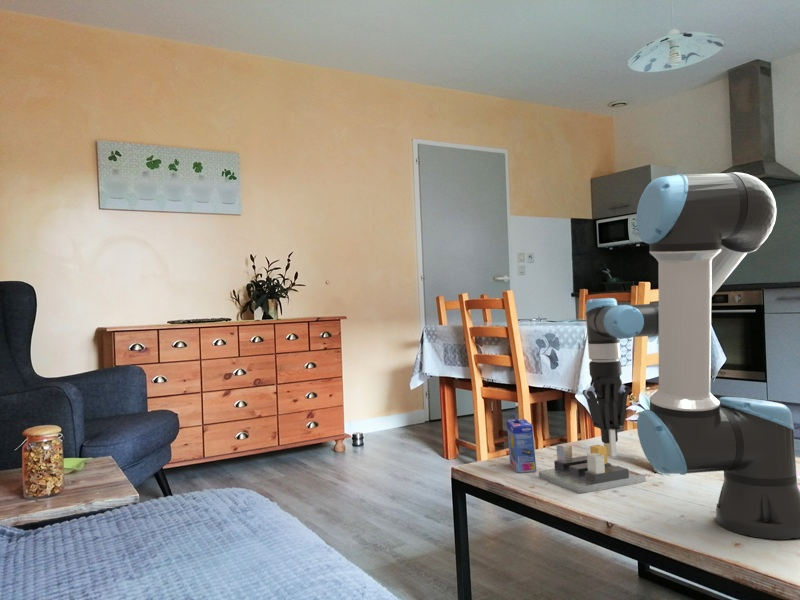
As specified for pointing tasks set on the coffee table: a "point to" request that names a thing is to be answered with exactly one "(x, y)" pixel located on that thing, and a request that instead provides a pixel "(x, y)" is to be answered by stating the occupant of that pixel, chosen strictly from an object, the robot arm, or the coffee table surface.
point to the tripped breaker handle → (599, 451)
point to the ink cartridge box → (521, 445)
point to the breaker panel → (588, 484)
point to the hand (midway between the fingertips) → (610, 455)
